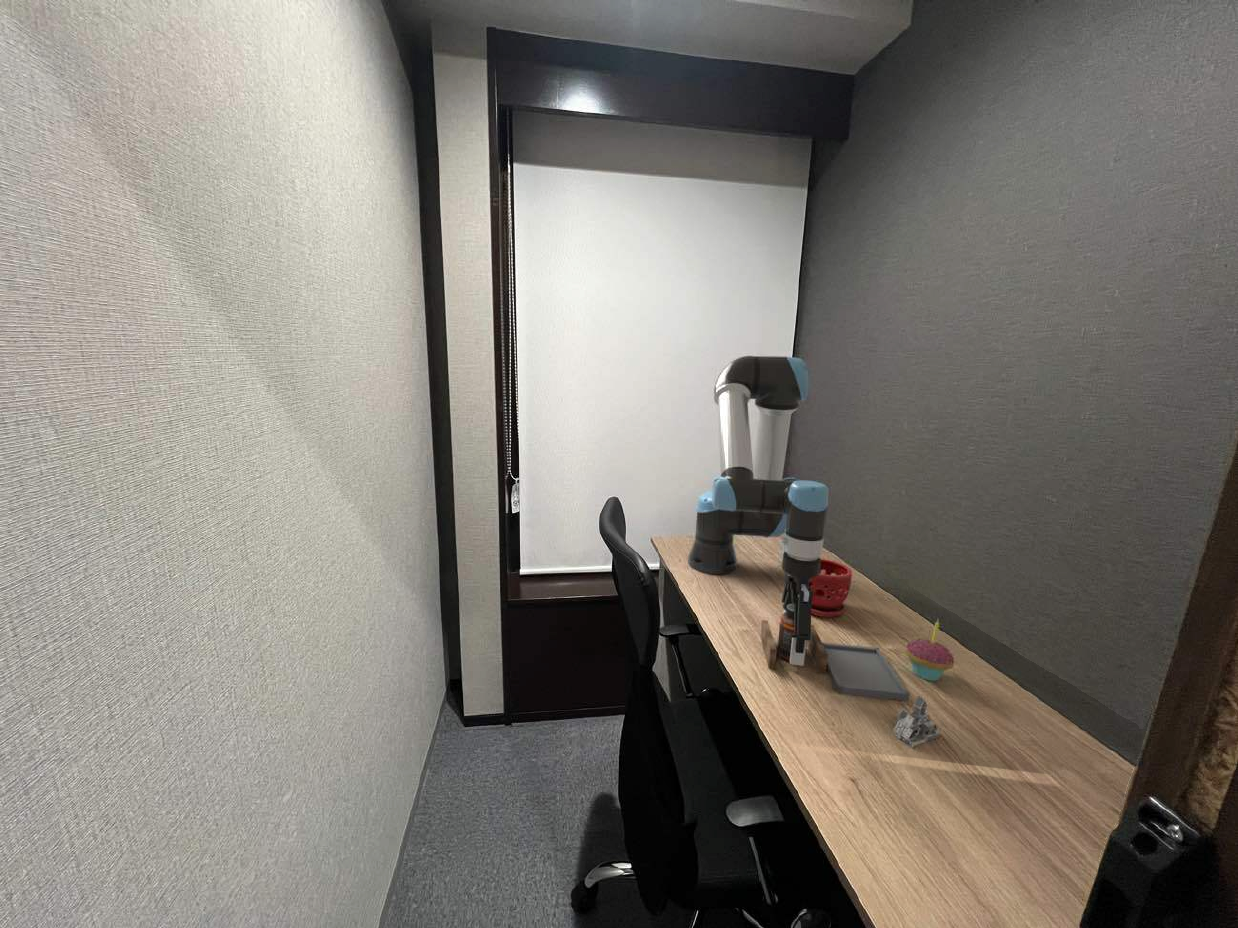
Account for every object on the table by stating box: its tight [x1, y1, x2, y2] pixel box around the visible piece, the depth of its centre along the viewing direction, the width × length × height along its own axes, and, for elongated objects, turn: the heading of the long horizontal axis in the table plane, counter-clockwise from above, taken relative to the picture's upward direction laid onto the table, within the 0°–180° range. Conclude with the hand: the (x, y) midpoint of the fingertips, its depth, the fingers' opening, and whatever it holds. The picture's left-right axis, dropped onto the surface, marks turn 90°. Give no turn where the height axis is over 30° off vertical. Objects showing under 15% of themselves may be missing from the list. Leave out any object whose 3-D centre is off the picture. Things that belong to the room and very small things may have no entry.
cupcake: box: [905, 618, 955, 682], centre depth 103 cm, size 9×8×12 cm
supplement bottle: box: [776, 604, 808, 662], centre depth 109 cm, size 6×6×11 cm
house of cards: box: [892, 694, 942, 749], centre depth 89 cm, size 9×9×8 cm
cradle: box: [760, 620, 828, 675], centre depth 109 cm, size 12×11×4 cm
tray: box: [821, 641, 910, 702], centre depth 104 cm, size 16×13×2 cm
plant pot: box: [809, 558, 853, 618], centre depth 130 cm, size 13×13×12 cm
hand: (791, 650), depth 110 cm, fingers open, 10 cm apart
